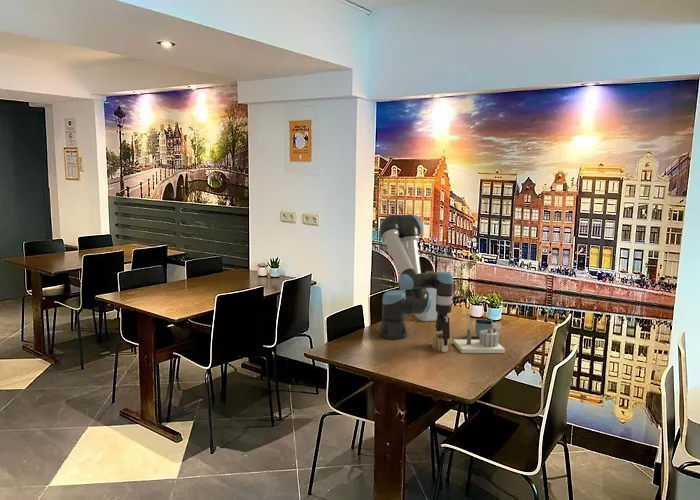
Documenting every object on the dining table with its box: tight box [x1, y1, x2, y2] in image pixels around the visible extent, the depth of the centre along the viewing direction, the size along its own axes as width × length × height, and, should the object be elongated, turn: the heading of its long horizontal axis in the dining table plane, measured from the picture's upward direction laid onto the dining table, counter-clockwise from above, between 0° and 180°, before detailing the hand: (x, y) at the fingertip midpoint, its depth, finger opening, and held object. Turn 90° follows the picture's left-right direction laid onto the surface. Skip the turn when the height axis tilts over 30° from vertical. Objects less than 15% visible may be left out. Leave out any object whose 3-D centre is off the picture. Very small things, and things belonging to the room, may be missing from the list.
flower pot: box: [474, 318, 494, 340], centre depth 273 cm, size 9×9×9 cm
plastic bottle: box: [414, 270, 437, 322], centre depth 309 cm, size 15×15×28 cm
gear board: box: [453, 327, 506, 354], centre depth 257 cm, size 21×15×10 cm
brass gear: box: [431, 333, 452, 352], centre depth 255 cm, size 9×9×6 cm
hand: (441, 347), depth 256 cm, fingers open, 11 cm apart
